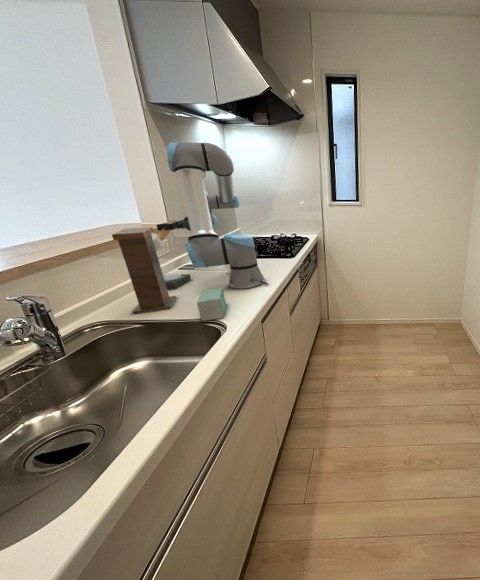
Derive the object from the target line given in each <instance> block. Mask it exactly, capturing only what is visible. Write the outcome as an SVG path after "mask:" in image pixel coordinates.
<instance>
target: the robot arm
mask: <svg viewBox="0 0 480 580" xmlns="http://www.w3.org/2000/svg"><path fill="white" fill-rule="evenodd" d="M166 158H167V163H168V169H169V171H170V172H172V173H174V176H175V177H176V178H178V179H179V180H180V185H181V191H182V195H183V201H184V206H185V210H186V215H187V216H185V217H183V219H180V220H177V221H176V222H175V223H171V224H167V223H168V222H162V223H159V224H156V228H157V231H158V232H160V231H161V230H162V229H163V228H164V231H166V230H171V231H173V230H179V229H182V230H183V229H186V230H187V231H190V234H189V235H188V237H187V240H188V241H185V242H184V246H185V250H186V252H187V256H188V258H189V260H190V262H191V264H192V266H193V267H195V268H196V269H203V268H204V269H205V268H206V269H207V268H210V267H211V268H212V267H219V266H226V265H228V264H230V268H231V272H230V274H229V278H228V279H229V280H228V284H229V287H230V288H231V289H236V290H243V289H244V290H245V289H251V288H255V287H259V286H261V285H263V284H264V285H267V286H268V285H269V283H268V282H265V277H264V275H263V273H262V271H261V269H260V268H259V265H258V260H257V253H256V245H255V241H254V238H253V237H252V236H251V235H248V234H243V233H226V234H224V235H223V238H220V237H219V234H218V233H216V232H215V231H214V227H216V226H217V224H218V219H217V217H216V215H214V214H213V213H212V210H226V209H238V208H239V207H240V201H239V196H238V194H236V193H235V191H234V181H233V173H234V171H235V170H234V169H235V168H234V163H233V160H232V158H231V157H230V155H229V154H228V153H227V152H226V151H225V150H224V149H223V148H222V147H220V146H218V145H216V144H214V143H210V142H184V141H183V142H181V141H178V142H177V141H176V142H169V143H168V144H167V147H166ZM207 172H212V173H213V174H214V177H215V183H216V188H217V189H216V190H217V194H209V193H208V191H206V188H205V187H206V186H205V183H204V182H205V181H204V178H206V176H207V174H206V173H207ZM175 224H176V225H175Z"/></svg>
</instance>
